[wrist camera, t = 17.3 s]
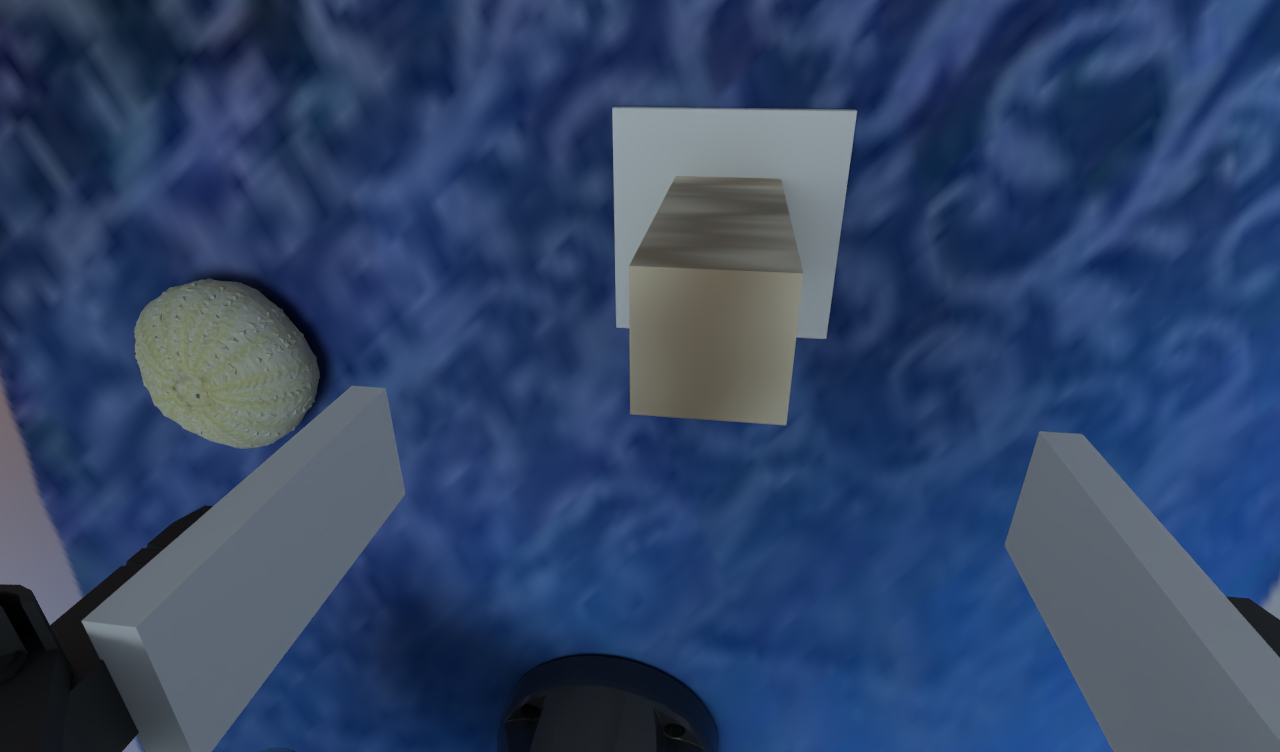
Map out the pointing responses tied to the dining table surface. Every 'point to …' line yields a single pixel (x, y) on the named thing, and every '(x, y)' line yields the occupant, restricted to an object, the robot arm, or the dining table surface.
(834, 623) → the dining table surface
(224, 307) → the sea urchin shell
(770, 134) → the mat
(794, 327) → the beige rectangular block
